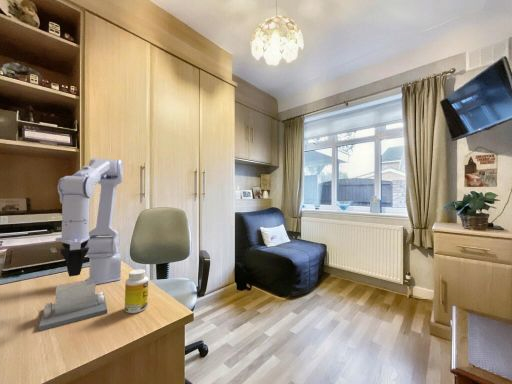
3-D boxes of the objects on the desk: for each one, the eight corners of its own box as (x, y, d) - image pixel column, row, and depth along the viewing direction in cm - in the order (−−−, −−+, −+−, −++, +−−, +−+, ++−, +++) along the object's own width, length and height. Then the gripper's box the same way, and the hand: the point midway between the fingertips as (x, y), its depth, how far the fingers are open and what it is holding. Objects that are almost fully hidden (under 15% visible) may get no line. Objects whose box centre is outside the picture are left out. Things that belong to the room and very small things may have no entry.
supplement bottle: (145, 313, 59) (146, 274, 59) (121, 315, 58) (122, 275, 58) (149, 302, 65) (150, 267, 65) (128, 305, 63) (129, 268, 63)
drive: (93, 300, 64) (94, 279, 64) (94, 305, 60) (95, 283, 60) (56, 308, 58) (56, 285, 59) (55, 315, 55) (55, 291, 55)
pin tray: (103, 296, 68) (103, 286, 68) (107, 313, 59) (107, 301, 59) (45, 309, 60) (45, 297, 60) (38, 331, 51) (39, 317, 51)
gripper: (57, 218, 63) (56, 266, 63) (53, 225, 52) (52, 283, 52) (89, 217, 68) (87, 262, 68) (91, 223, 56) (89, 276, 56)
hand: (74, 271), depth 60 cm, fingers open, 7 cm apart
